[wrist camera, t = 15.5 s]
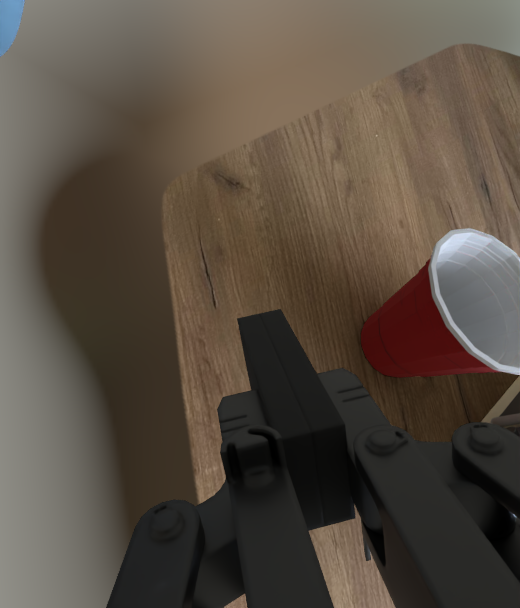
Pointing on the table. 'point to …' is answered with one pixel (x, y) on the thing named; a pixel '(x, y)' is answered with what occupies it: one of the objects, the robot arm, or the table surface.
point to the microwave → (507, 410)
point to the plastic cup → (451, 313)
